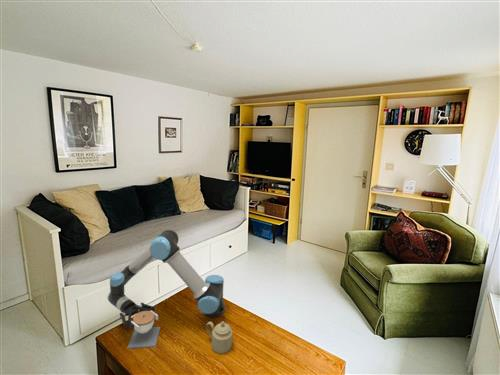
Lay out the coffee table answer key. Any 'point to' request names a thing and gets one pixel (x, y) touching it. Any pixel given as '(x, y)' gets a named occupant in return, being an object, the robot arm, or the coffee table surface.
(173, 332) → the coffee table surface
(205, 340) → the coffee table surface
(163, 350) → the coffee table surface
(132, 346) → the slate mat
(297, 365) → the coffee table surface
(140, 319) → the lidded jar
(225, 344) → the beige teapot
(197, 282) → the robot arm
